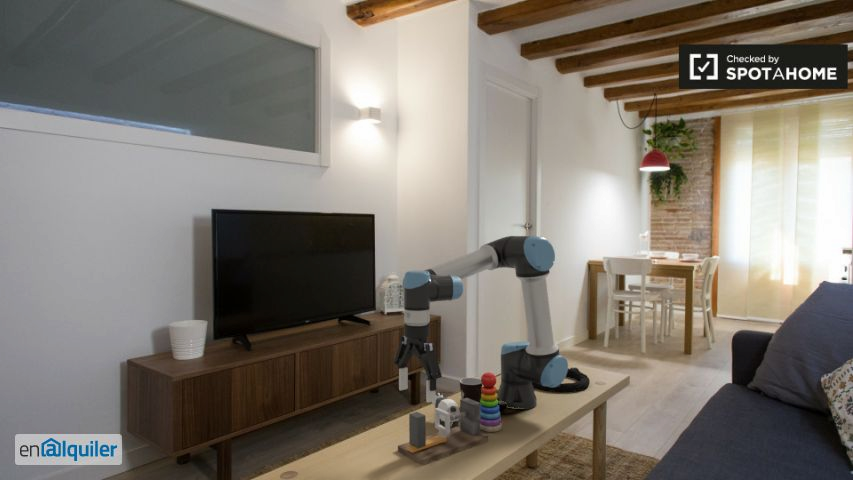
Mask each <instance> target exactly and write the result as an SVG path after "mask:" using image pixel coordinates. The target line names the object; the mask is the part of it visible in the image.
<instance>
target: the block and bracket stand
mask: <svg viewBox="0 0 853 480" xmlns="http://www.w3.org/2000/svg"><path fill="white" fill-rule="evenodd" d="M440 414H441V415H443V416H445V423H444V425H445V427H444V425H442V424H441V423H440ZM408 415H409V416H408V417H409V418H408V420H409V422H408V423H409V428H408V429H409V431H408V432H409V434H408V435H409V436H408V437H409V441H408V442H409V444H410V445H407V446H406V449H407V450H409V451H410V452H412V453H413V452H416V451H419V450H422V449H425V448H428V447H431V446H434V445H437V444H440V443H443V442H445V441H447V438H446V434H448V433H450V429H451V423H450V413H448V412H446V411H444V410H442V409H439V408H435V407H434V428H435V429H436V430H438V433H439V435H438V436H435V437H432V438H429V439H426V435H427V433H426V432H427V431H426V425H427V424H426V423H427V422H426V417H427V416H426V415H425V414H423V413H422V412H419V411H415V412H411V413H409V414H408Z"/></svg>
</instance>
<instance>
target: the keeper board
mask: <svg viewBox="0 0 853 480" xmlns="http://www.w3.org/2000/svg"><path fill="white" fill-rule="evenodd" d="M459 403H460V407H459V411H460V412H459V413H456V414H452V415H450V420H452V421H453V420H455V419H458V418H460V419H459V423H460V424H459V425H458V426H457V427H450V433H448V434H446V438H447V441H445V442H443V443H440V444H437V445H434V446H431V447H428V448H425V449H422V450H419V451H416V452H413V453H412V452H410V451H409V450H407V449H406V446H407V445H410V444H409V441H408V442H405V443H401V444H398V445H397V451H398V452H399V453H401V454H403V455H404V456H406V457H408V458H409V459H411V460H412V461H414V462H415V463H417V464H419V465H421V466H424V465H427V464H429V463H432V462H434V461H437V460H439V459H444V458H445V457H449V456H451V455H454V454H456V453H460V452H462V451H465V450H467V449H468V450H469V449H471V448H473V447H476V446H479V445H481V444H484V443H486V442H488V441H489V438H488V436H487V435H485V434H483V433H481V429H480V405H481V403H479V402H477V401H474V400H471V399H469V398H465V399H460V402H459ZM438 435H439V432H436V433H433V434H431V435H427V436H426V439H429V438H432V437H435V436H438Z"/></svg>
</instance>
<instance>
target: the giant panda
mask: <svg viewBox="0 0 853 480" xmlns="http://www.w3.org/2000/svg"><path fill="white" fill-rule="evenodd" d="M431 403H432V405H433V406H434V409H435V408H439V409H442V410H444V411H446V412H448V413H450V415H452V414H456V413H459V412H460V407H459V406H458V404H457V402H456V401H455V400H453V399H451V398H448V397H446V396H445V397H444V396H443V392H442V391H440V392H436V391H435V401H433V402H431ZM442 421H443V423H444V425H443V426H444V427H445V416H443V415H441V414H440V424H441V423H442ZM451 423H452V424H451ZM459 423H460V418H458V419H455V420H453V421H452V420H450V424H451V426H452V428H454V427H457V426H459Z"/></svg>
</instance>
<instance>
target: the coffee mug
mask: <svg viewBox="0 0 853 480" xmlns="http://www.w3.org/2000/svg"><path fill="white" fill-rule="evenodd" d="M482 387H483V384H482V382H481V378H478V377H463V378H461V379H459V389H460V397H461V399H465V398H469V399H471V400H474V401H477V402H479V403H480V400H481V399H482V398H481V394H482V391H481V389H482ZM461 399H460V400H461ZM480 404H481V403H480Z"/></svg>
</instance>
